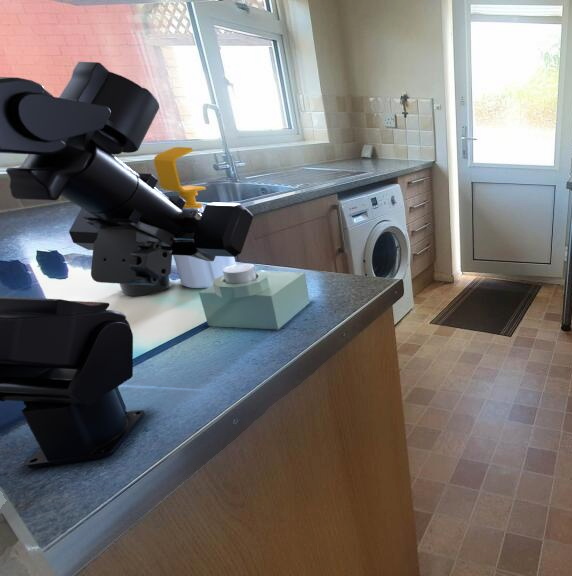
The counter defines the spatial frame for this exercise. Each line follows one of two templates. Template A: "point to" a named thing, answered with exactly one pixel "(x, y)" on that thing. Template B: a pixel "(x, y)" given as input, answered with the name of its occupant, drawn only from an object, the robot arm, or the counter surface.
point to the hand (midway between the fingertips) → (212, 258)
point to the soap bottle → (188, 267)
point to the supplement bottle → (145, 287)
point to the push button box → (256, 300)
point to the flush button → (239, 273)
